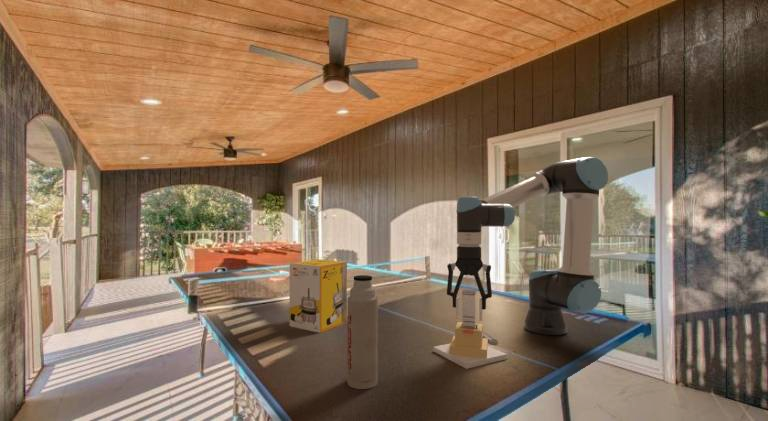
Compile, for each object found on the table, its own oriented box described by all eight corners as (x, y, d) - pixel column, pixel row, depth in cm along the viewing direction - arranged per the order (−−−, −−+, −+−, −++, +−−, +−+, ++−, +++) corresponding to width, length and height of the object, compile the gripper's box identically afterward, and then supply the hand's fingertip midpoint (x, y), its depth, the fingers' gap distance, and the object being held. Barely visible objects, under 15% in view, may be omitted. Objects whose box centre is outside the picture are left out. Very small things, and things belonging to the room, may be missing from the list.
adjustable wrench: (499, 345, 130) (499, 340, 130) (482, 346, 129) (482, 341, 129) (471, 324, 155) (471, 320, 155) (456, 325, 154) (456, 320, 154)
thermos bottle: (347, 389, 96) (347, 278, 96) (347, 376, 104) (347, 273, 104) (378, 388, 97) (378, 278, 97) (376, 375, 105) (376, 273, 105)
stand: (506, 346, 128) (506, 319, 128) (507, 373, 106) (507, 341, 106) (438, 340, 134) (438, 314, 134) (427, 364, 113) (427, 333, 113)
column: (476, 345, 122) (476, 290, 122) (475, 350, 117) (475, 293, 118) (463, 344, 123) (463, 289, 123) (461, 348, 119) (461, 292, 119)
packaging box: (346, 322, 156) (347, 261, 157) (320, 333, 143) (320, 266, 143) (317, 317, 165) (317, 259, 165) (289, 326, 151) (289, 263, 152)
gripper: (436, 245, 120) (436, 319, 119) (501, 247, 114) (501, 324, 114) (440, 244, 127) (440, 313, 127) (501, 245, 121) (501, 318, 121)
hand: (469, 318), depth 120 cm, fingers open, 6 cm apart
